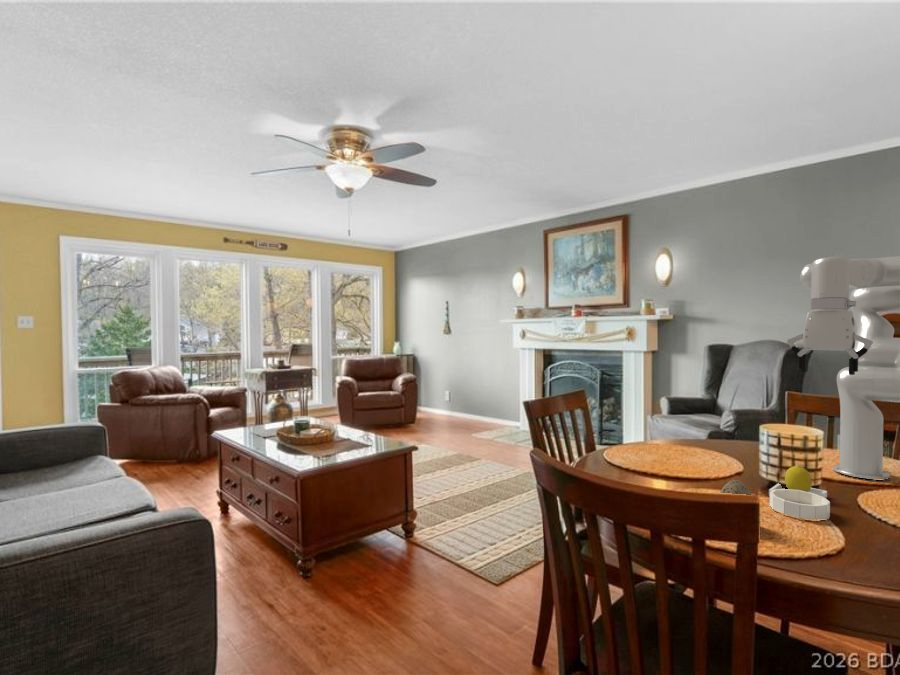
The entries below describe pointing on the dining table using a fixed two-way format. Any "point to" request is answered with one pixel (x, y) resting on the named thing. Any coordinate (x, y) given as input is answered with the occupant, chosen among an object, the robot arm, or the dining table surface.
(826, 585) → the dining table surface
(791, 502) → the bowl
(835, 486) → the dining table surface
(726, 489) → the decorative egg
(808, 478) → the lemon
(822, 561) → the dining table surface
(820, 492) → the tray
